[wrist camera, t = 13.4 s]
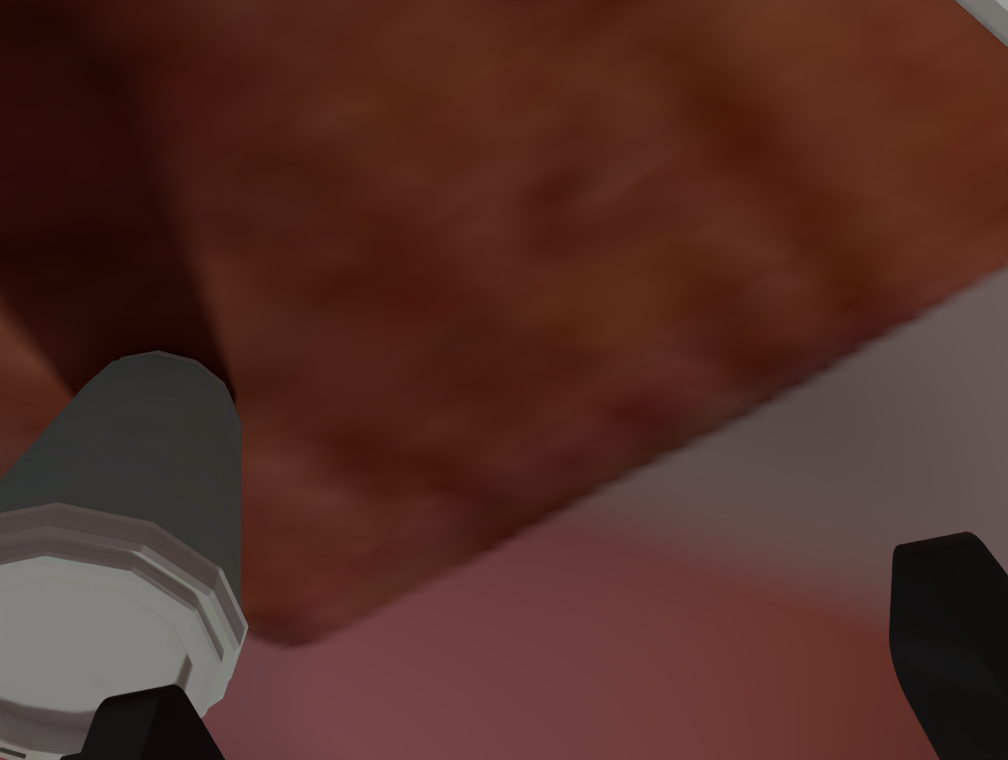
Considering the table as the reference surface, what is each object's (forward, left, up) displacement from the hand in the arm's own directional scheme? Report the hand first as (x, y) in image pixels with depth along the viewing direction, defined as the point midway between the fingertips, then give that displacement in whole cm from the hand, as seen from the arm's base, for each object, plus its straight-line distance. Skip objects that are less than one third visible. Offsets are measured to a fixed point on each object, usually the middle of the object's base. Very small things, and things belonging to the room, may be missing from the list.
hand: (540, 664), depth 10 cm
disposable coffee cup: (+12, -16, -28) cm, 35 cm away
